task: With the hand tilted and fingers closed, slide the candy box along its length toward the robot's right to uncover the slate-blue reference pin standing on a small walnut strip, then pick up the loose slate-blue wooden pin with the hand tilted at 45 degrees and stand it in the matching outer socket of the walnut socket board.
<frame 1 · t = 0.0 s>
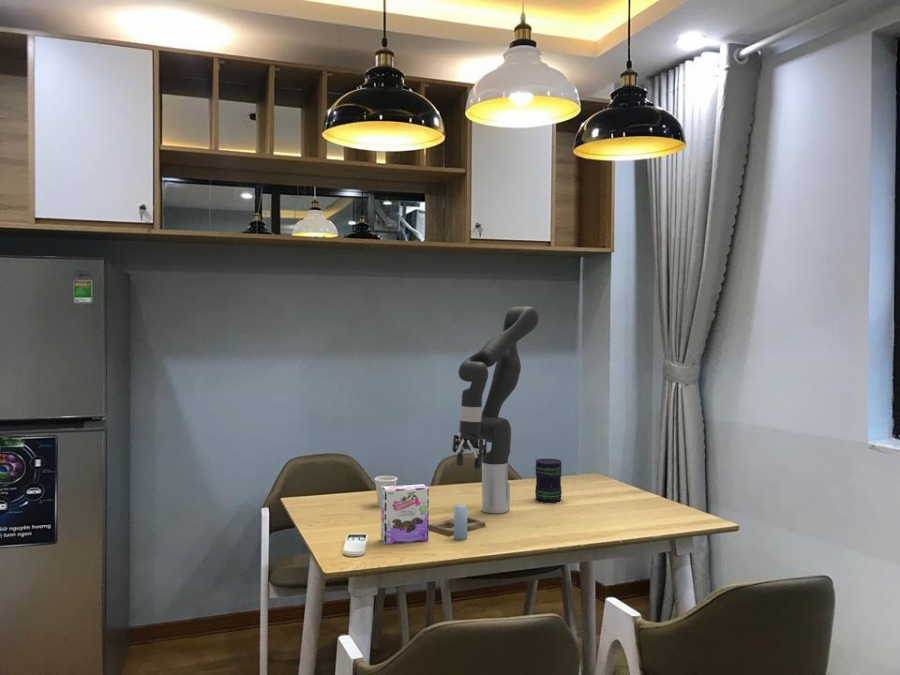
hand: (468, 467, 243), 17 cm above the table, tool pointing down, fingers open, 8 cm apart
blue pin: (460, 538, 218), on the table
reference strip: (409, 523, 236), on the table
dixie cup: (385, 505, 259), on the table
candy box: (404, 541, 216), on the table
socket board: (457, 527, 230), on the table
storage jar: (548, 501, 267), on the table
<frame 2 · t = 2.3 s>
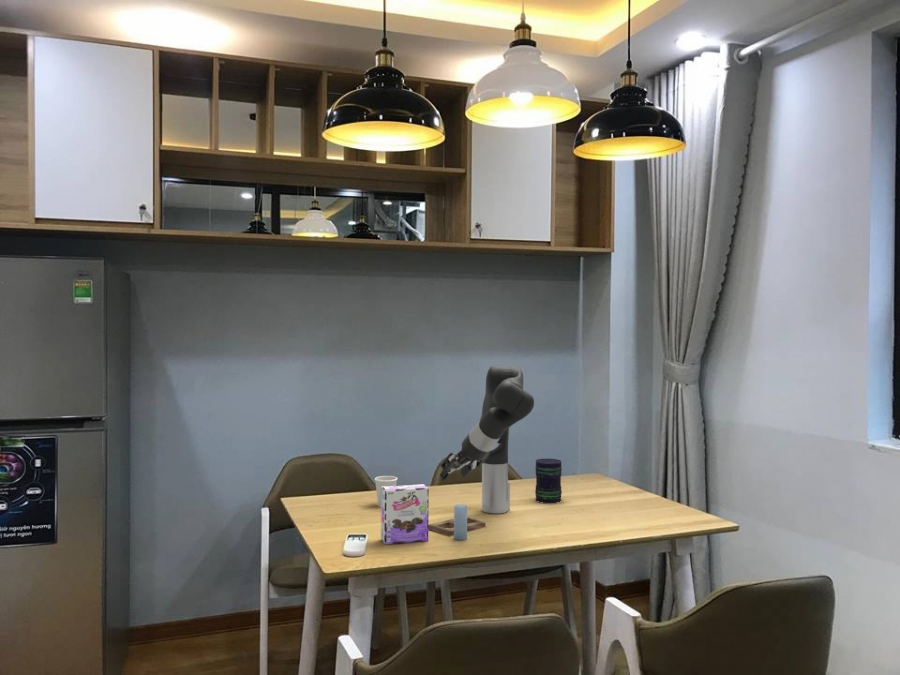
hand: (452, 476, 200), 23 cm above the table, tool tilted 45°, fingers open, 7 cm apart
nothing on the table moved.
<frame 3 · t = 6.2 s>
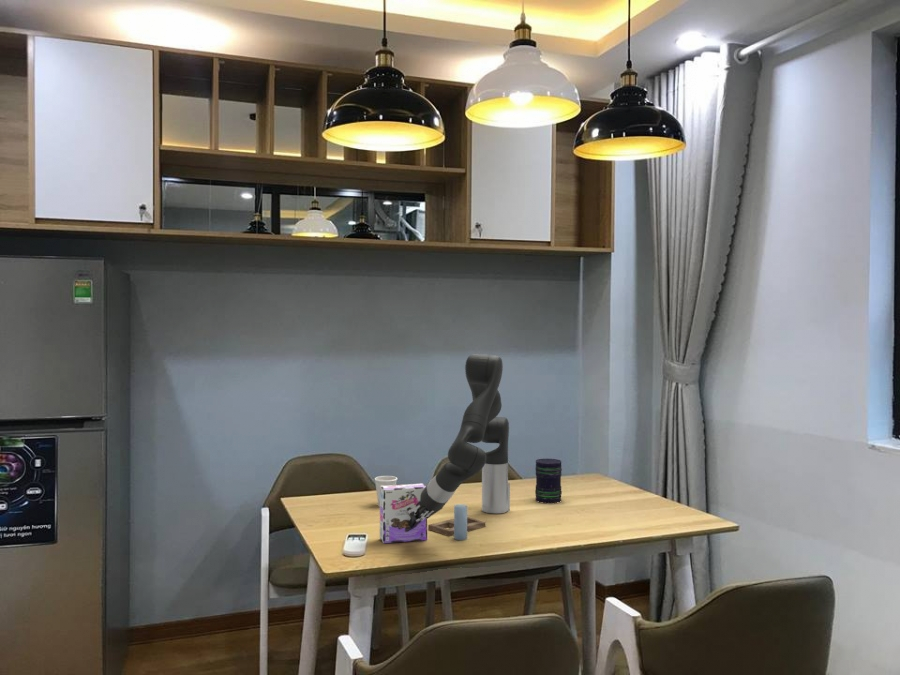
hand: (411, 525, 214), 5 cm above the table, tool tilted 45°, fingers closed
candy box: (403, 540, 217), on the table, touching gripper
everything else where it was.
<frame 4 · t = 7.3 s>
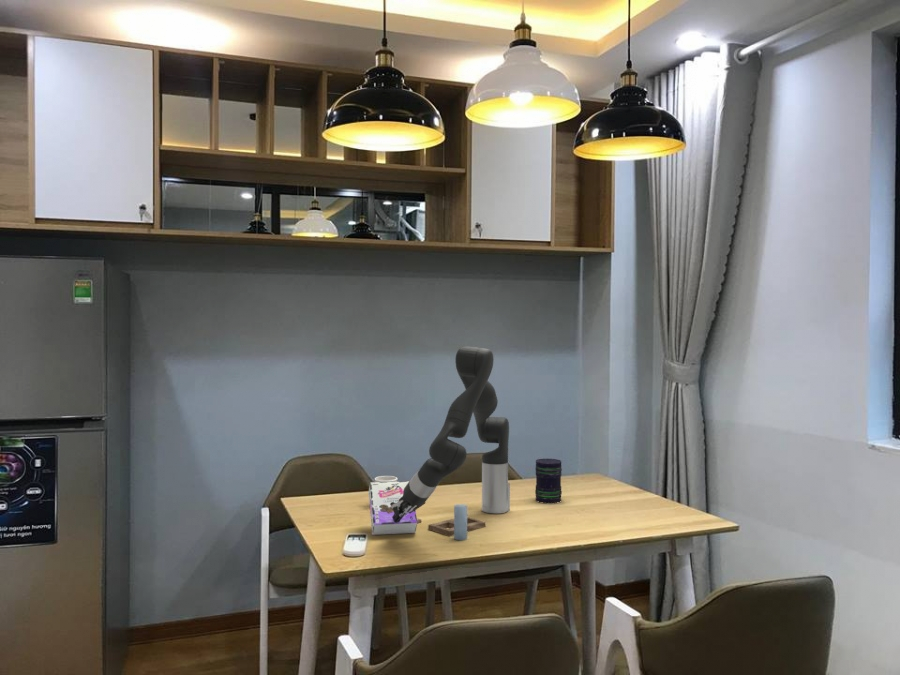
hand: (395, 519, 220), 5 cm above the table, tool tilted 45°, fingers closed
candy box: (394, 529, 220), point 2 cm above the table, touching gripper, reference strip
everything else where it was.
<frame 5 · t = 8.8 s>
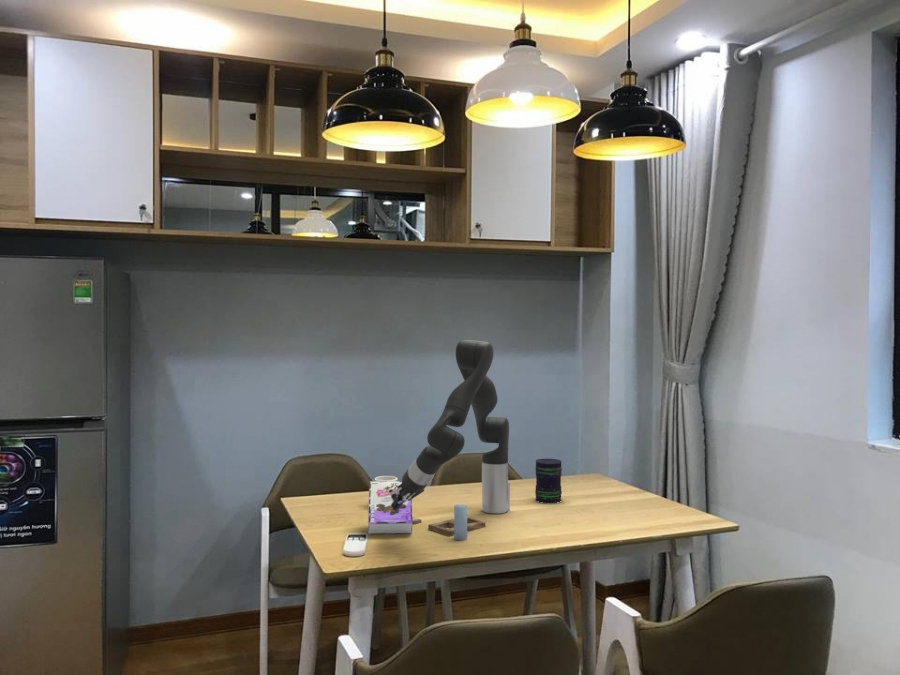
hand: (394, 507, 220), 9 cm above the table, tool tilted 45°, fingers closed
candy box: (390, 529, 221), point 2 cm above the table, touching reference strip
everything else where it was.
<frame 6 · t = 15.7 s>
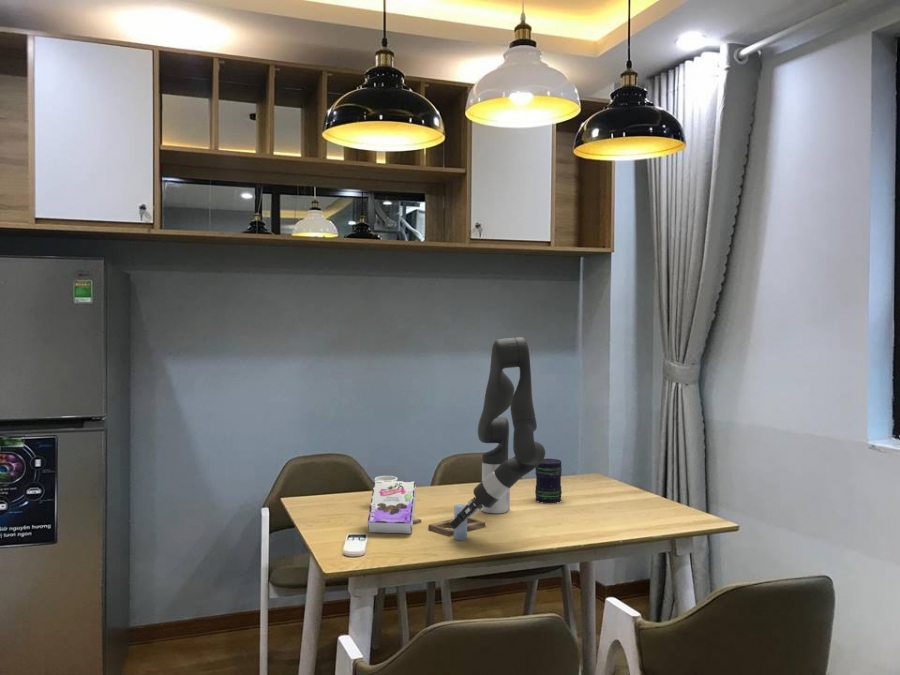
hand: (454, 524, 219), 4 cm above the table, tool tilted 45°, fingers closed on blue pin, 4 cm apart
blue pin: (460, 538, 218), on the table, touching gripper
candy box: (389, 528, 221), point 2 cm above the table
everything else where it was.
when the fingers open (6 cm above the table, at t = 20.5 s): blue pin drops 2 cm, resting in socket board.
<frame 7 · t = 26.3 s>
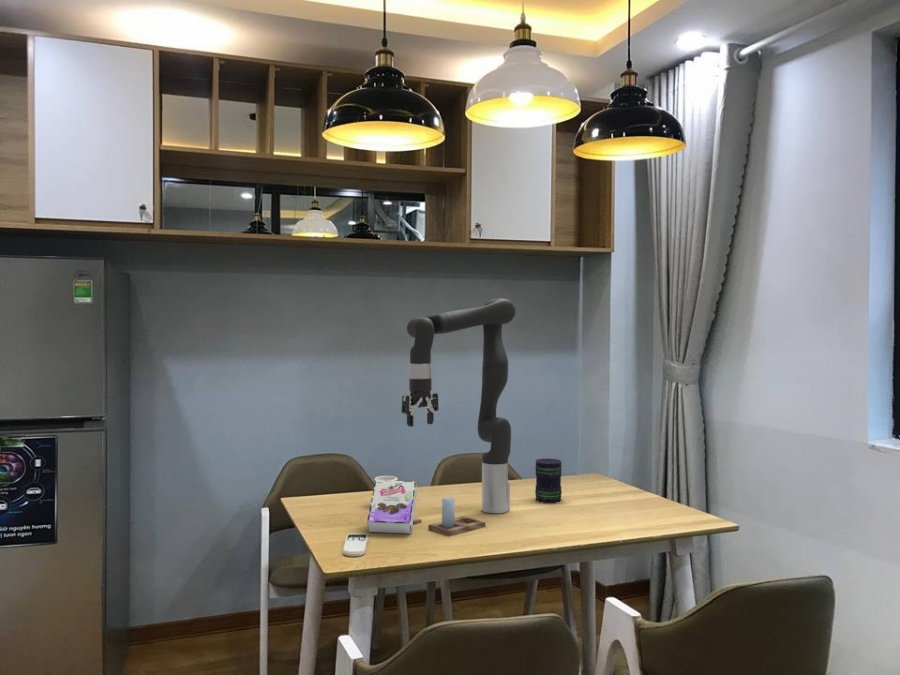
hand: (420, 425, 238), 32 cm above the table, tool pointing down, fingers open, 8 cm apart
blue pin: (448, 530, 227), resting in socket board
candy box: (389, 528, 222), point 2 cm above the table, touching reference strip
everything else where it was.
at the end: blue pin 0.1 cm from the target spot on the socket board, point 0.0 cm above the socket board's base; blue pin tilted 0°; candy box inside the target area (10.5 cm from its centre), point 2.0 cm above the table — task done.
